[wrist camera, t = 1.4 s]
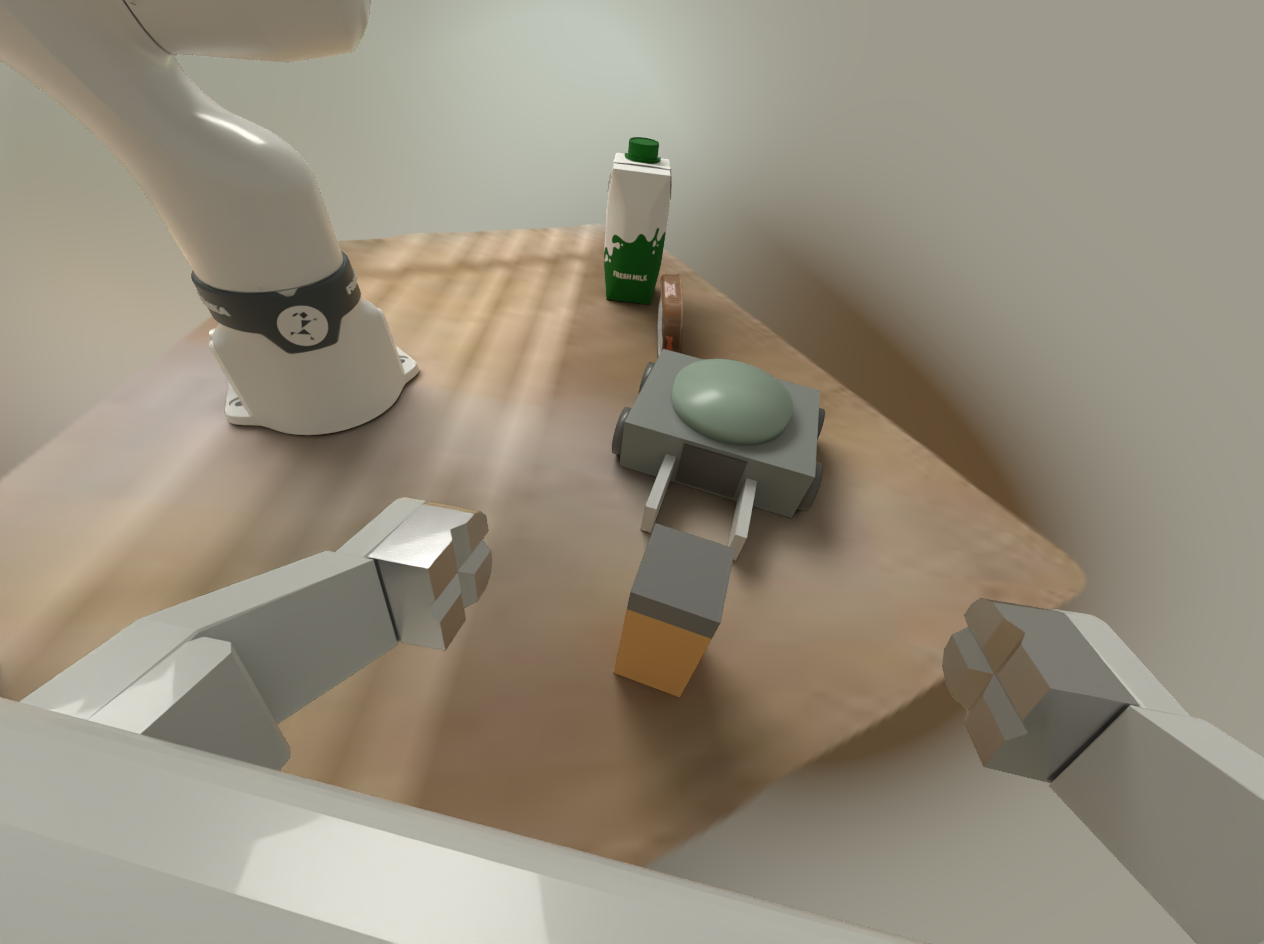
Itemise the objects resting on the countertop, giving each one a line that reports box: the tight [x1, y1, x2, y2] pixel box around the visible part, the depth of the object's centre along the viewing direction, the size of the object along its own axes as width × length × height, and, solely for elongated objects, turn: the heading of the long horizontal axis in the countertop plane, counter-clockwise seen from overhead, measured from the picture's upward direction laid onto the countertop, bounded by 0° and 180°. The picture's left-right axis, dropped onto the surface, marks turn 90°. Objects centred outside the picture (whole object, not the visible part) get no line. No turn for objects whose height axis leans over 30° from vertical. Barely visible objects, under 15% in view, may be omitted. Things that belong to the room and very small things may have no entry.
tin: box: [657, 274, 683, 357], centre depth 62 cm, size 15×3×8 cm, turn 178°
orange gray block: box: [614, 523, 735, 698], centre depth 31 cm, size 5×5×12 cm
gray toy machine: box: [612, 349, 825, 561], centre depth 46 cm, size 21×20×8 cm
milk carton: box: [604, 137, 672, 304], centre depth 68 cm, size 9×9×20 cm
